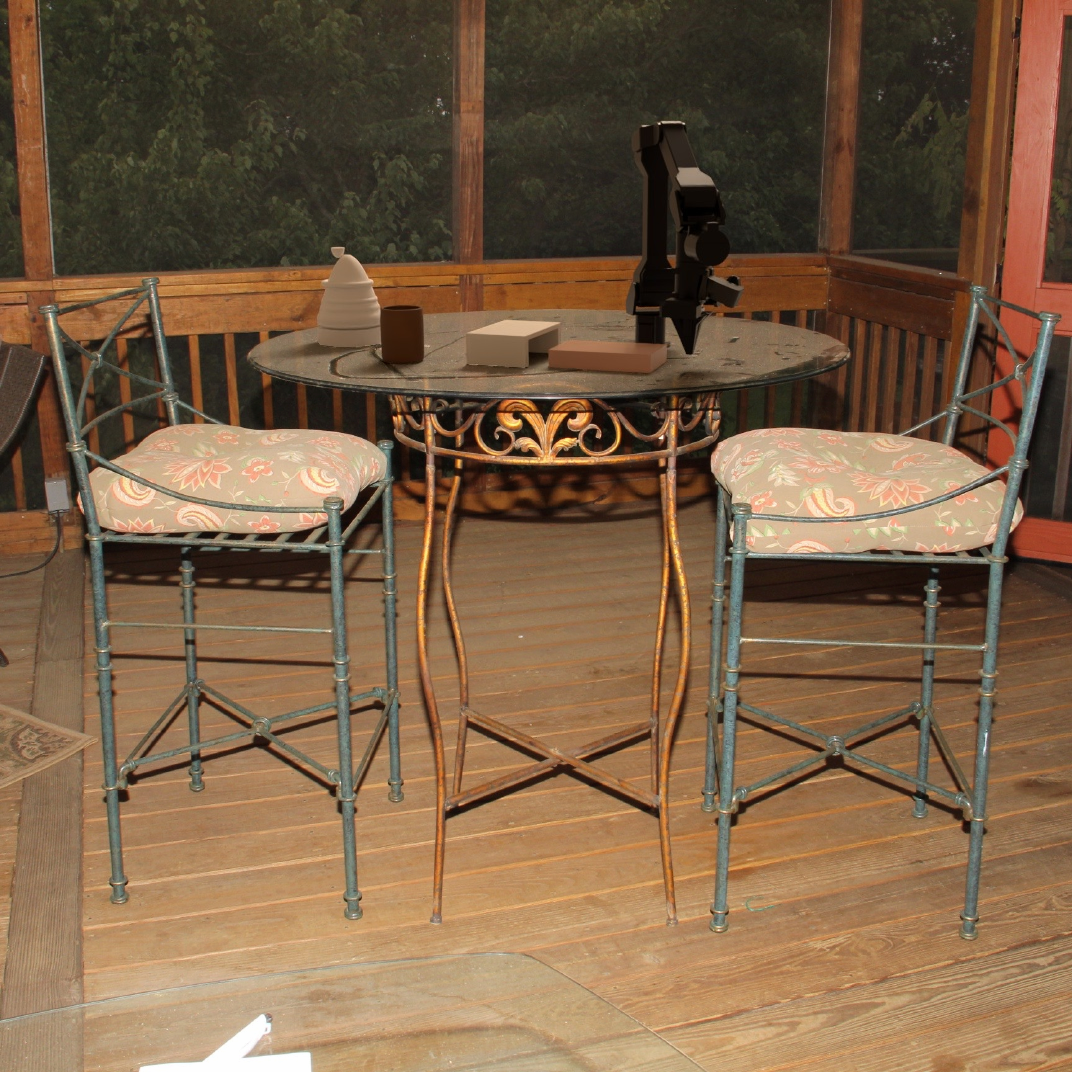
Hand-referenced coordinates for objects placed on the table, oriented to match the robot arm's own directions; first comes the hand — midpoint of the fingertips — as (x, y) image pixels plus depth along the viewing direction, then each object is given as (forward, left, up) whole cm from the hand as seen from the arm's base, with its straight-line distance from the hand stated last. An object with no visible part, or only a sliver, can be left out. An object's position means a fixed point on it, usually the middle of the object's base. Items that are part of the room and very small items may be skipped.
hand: (689, 354), depth 216 cm
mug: (+7, -51, -3) cm, 52 cm away
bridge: (0, -32, -2) cm, 32 cm away
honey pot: (-7, -69, -3) cm, 69 cm away
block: (0, -15, -3) cm, 15 cm away
